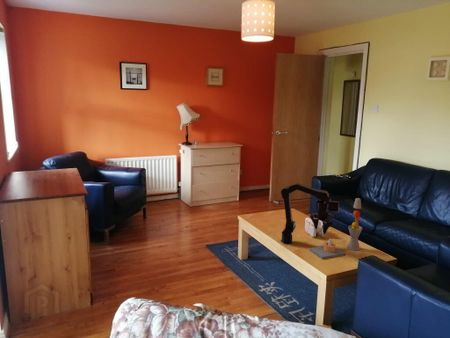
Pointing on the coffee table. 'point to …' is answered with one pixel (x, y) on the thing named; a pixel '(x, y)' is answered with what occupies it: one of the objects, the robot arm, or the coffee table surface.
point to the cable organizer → (311, 229)
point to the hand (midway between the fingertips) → (320, 231)
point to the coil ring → (329, 247)
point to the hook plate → (323, 254)
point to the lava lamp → (355, 228)
